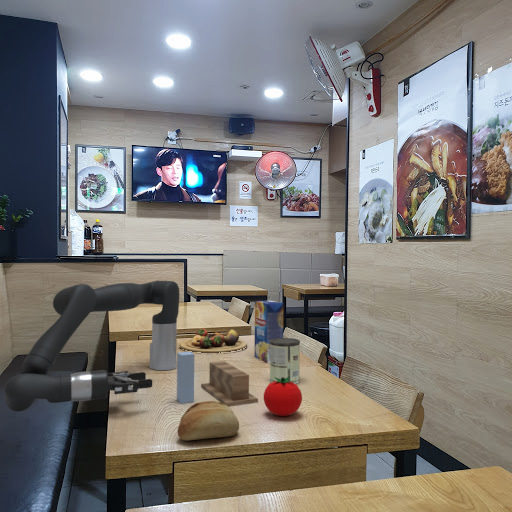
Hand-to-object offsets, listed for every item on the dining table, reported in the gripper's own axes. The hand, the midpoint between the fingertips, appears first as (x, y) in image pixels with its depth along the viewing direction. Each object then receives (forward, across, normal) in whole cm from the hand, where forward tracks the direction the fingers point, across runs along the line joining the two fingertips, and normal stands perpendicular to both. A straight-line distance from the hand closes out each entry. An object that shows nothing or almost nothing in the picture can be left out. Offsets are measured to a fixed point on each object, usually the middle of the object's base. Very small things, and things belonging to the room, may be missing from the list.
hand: (148, 379), depth 133 cm
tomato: (+31, -22, +8) cm, 39 cm away
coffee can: (+48, +8, +8) cm, 50 cm away
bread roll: (+8, -29, +8) cm, 31 cm away
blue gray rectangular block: (+11, 0, +8) cm, 13 cm away
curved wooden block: (+25, +1, +8) cm, 26 cm away
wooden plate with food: (+48, +75, +8) cm, 89 cm away
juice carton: (+59, +40, +8) cm, 72 cm away
